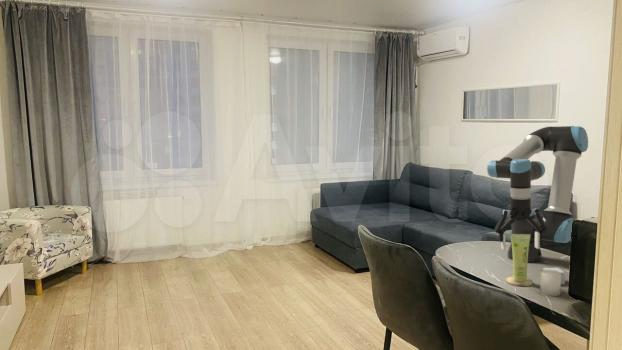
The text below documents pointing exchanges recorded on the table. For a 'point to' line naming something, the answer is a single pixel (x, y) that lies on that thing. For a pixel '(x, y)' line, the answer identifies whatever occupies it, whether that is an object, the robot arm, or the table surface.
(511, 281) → the trivet
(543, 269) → the box
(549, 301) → the table surface
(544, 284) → the white rounded cylinder
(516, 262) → the tube
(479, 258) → the table surface
